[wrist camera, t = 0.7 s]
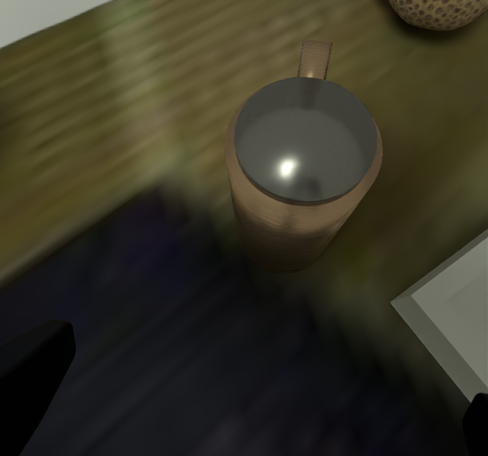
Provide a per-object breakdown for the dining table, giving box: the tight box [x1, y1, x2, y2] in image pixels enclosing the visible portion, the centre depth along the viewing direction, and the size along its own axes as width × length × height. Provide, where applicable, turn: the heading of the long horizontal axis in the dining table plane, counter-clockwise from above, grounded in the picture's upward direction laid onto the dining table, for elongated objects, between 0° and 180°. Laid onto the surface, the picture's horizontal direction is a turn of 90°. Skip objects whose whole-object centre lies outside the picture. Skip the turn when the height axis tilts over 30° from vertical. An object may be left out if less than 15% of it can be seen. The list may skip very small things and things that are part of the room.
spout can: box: [225, 40, 383, 273], centre depth 18 cm, size 8×6×11 cm
